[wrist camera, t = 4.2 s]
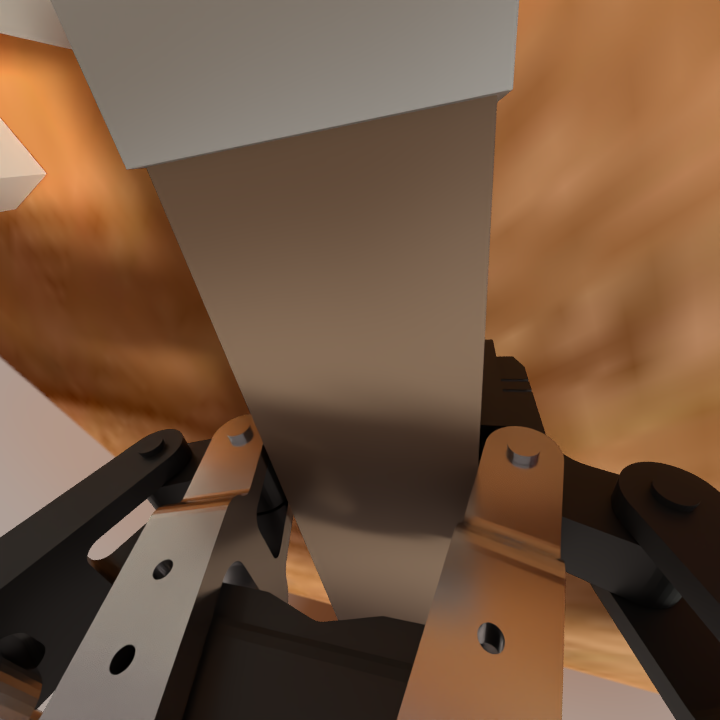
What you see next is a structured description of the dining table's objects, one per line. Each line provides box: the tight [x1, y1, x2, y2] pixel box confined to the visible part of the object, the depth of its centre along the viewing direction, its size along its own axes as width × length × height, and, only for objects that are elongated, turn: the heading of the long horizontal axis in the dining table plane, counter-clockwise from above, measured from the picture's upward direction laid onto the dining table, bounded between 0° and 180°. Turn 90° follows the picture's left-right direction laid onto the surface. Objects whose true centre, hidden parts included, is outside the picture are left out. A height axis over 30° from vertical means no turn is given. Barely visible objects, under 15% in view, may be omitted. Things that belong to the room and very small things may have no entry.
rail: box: [50, 0, 519, 625], centre depth 9 cm, size 16×4×5 cm, turn 9°
